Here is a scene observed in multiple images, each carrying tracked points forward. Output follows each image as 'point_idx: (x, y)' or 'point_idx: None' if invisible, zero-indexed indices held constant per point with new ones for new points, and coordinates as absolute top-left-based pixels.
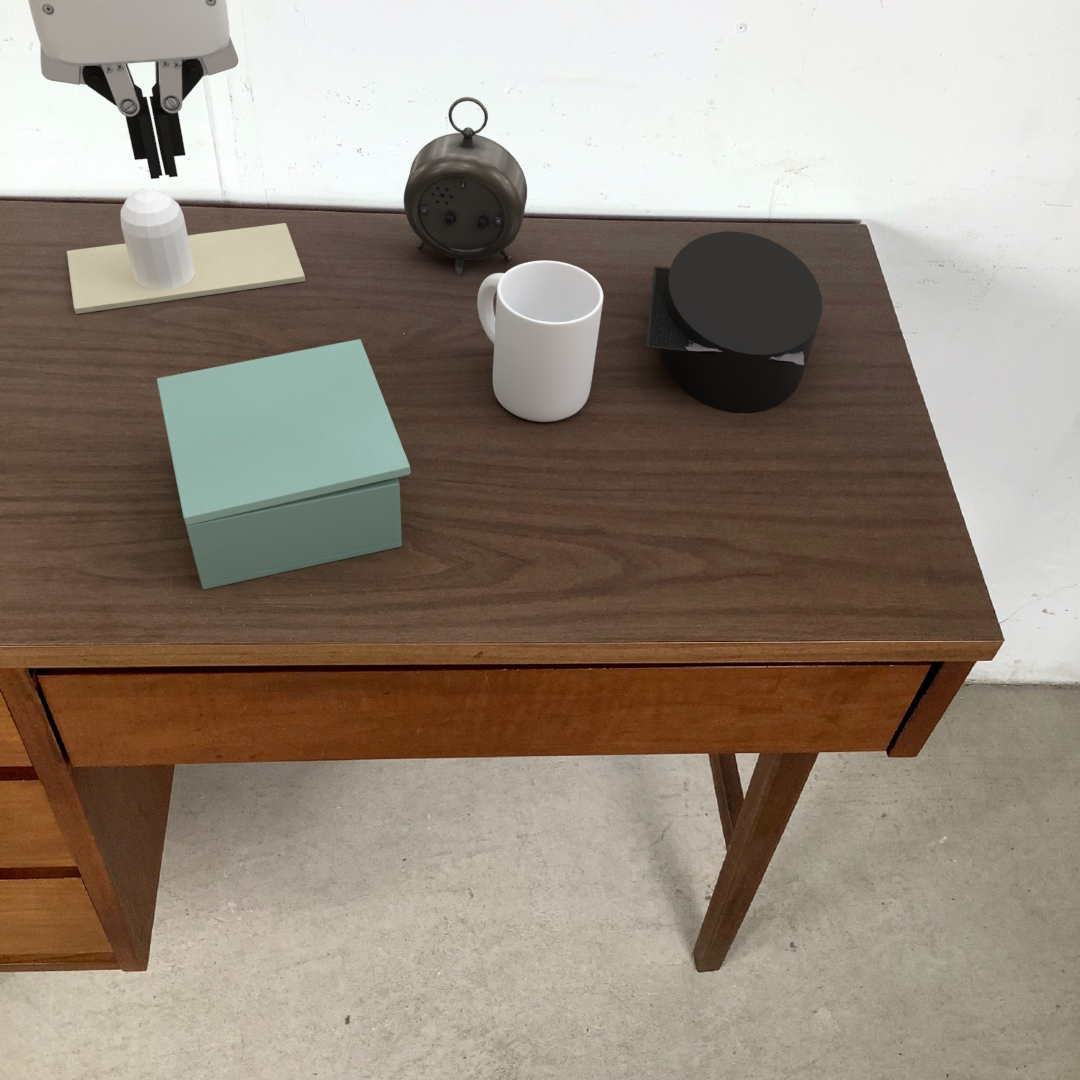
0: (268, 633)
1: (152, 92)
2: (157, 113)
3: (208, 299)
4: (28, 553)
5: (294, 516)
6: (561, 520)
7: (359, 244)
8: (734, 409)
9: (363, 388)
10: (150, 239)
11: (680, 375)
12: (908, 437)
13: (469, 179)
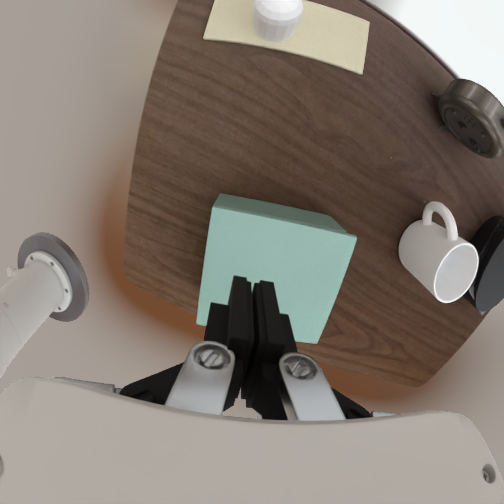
0: None
1: (259, 386)
2: (249, 401)
3: (293, 57)
4: (133, 234)
5: None
6: (368, 319)
7: (404, 64)
8: None
9: (332, 282)
10: (268, 24)
11: None
12: (476, 323)
13: (488, 137)
